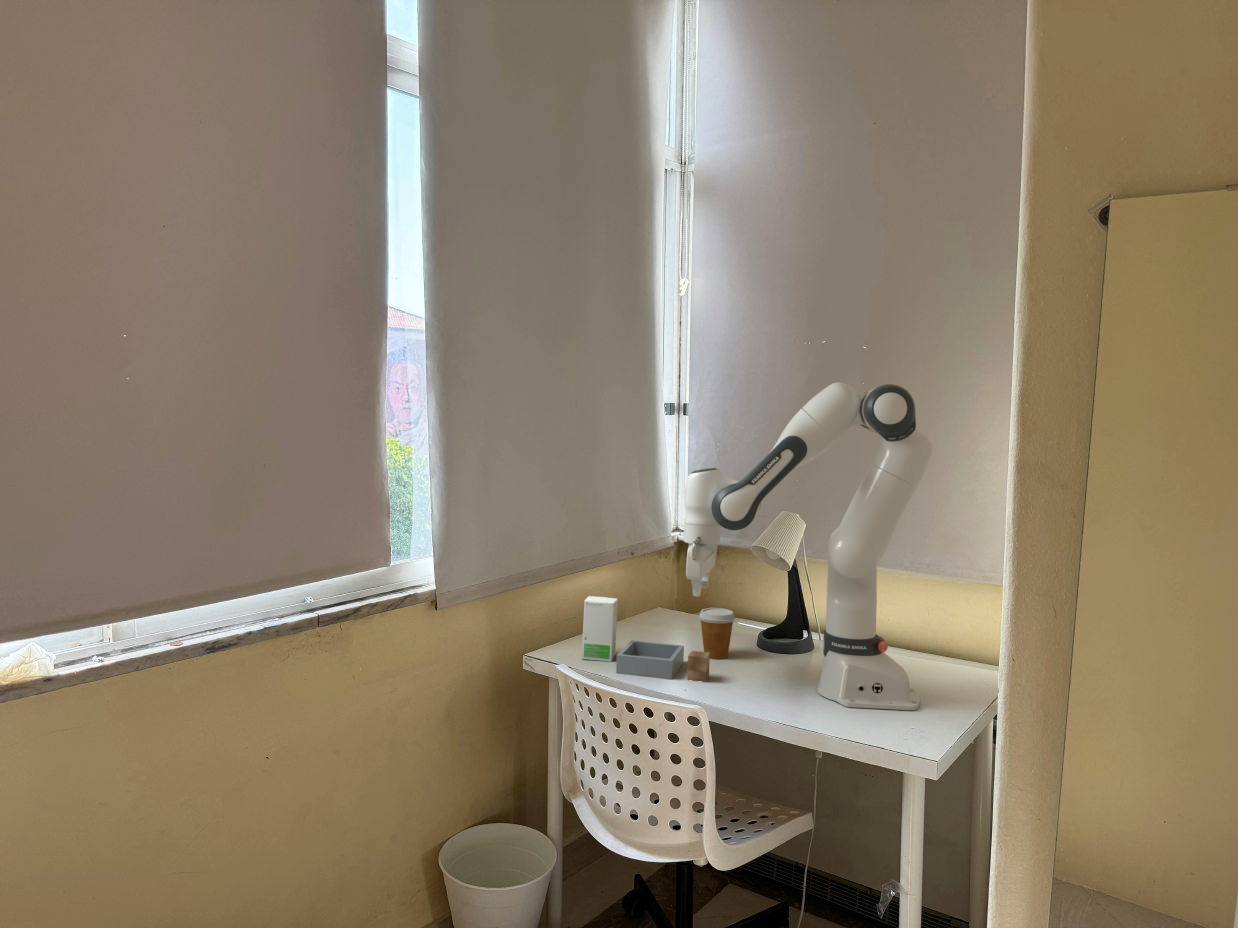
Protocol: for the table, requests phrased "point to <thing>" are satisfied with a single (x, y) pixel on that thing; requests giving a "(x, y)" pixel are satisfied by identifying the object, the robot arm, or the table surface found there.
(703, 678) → the walnut block
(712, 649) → the disposable coffee cup
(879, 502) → the robot arm
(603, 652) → the skincare box
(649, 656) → the tray
